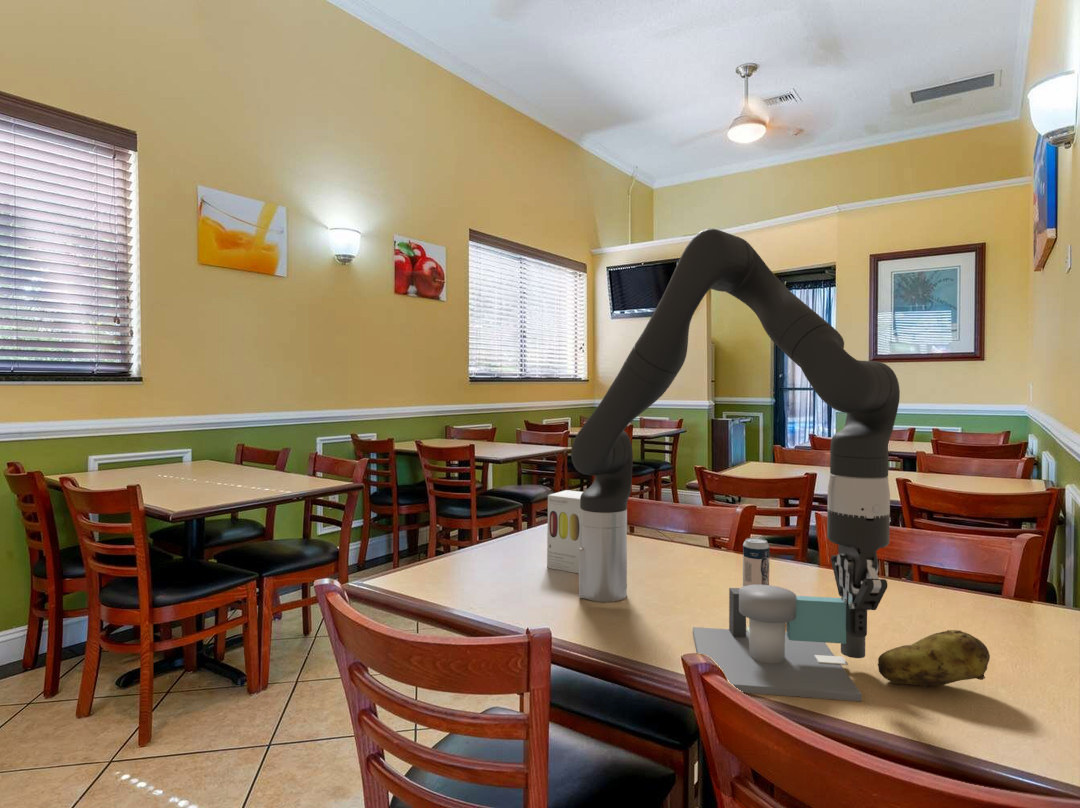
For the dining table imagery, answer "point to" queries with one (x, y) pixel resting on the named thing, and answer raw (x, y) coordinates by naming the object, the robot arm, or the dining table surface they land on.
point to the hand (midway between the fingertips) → (856, 634)
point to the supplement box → (564, 531)
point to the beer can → (755, 562)
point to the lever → (801, 616)
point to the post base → (777, 674)
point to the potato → (936, 660)
